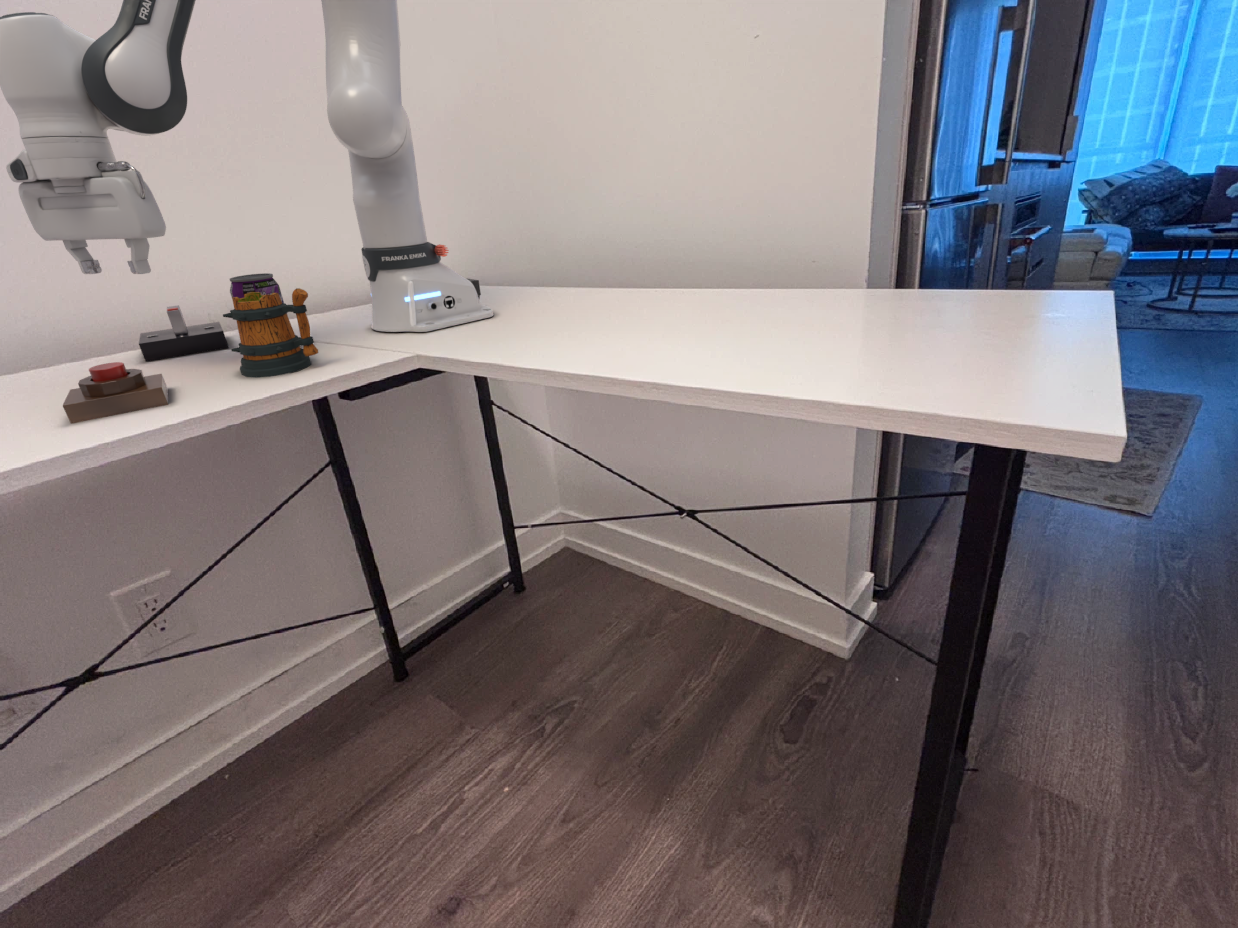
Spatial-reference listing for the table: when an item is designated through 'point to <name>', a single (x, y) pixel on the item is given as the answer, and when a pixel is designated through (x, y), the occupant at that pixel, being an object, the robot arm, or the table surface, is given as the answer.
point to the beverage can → (254, 285)
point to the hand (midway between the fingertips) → (117, 273)
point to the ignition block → (115, 396)
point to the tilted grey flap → (177, 320)
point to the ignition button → (108, 371)
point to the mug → (271, 334)
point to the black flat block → (182, 341)
